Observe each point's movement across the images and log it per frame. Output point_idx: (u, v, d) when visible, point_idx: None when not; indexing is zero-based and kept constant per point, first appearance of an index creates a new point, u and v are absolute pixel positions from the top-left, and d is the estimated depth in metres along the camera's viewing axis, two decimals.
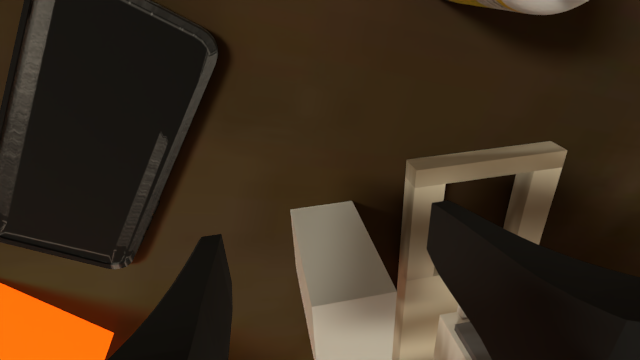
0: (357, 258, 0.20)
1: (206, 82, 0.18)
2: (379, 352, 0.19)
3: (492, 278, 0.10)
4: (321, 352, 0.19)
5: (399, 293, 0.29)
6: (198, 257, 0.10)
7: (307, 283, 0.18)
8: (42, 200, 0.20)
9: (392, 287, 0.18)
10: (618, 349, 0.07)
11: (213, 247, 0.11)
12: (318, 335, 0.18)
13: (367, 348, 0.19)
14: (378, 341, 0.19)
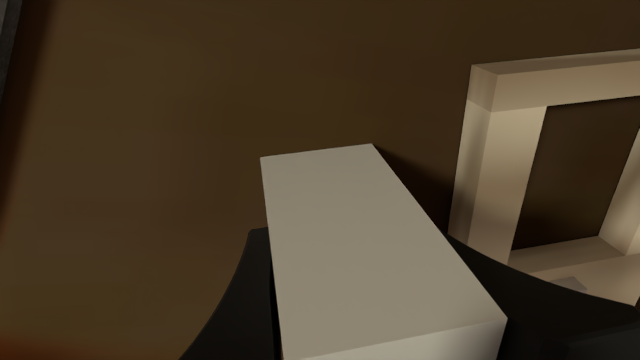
0: (394, 240, 0.09)
1: None
2: None
3: None
4: None
5: None
6: (254, 248, 0.11)
7: (278, 296, 0.07)
8: None
9: (492, 306, 0.07)
10: None
11: (266, 239, 0.11)
12: None
13: None
14: None
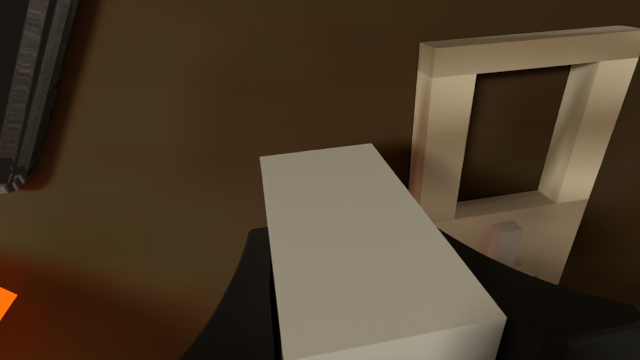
0: (393, 239, 0.09)
1: None
2: None
3: None
4: None
5: None
6: (254, 248, 0.11)
7: (278, 295, 0.07)
8: None
9: (491, 305, 0.07)
10: None
11: (266, 239, 0.11)
12: None
13: None
14: None
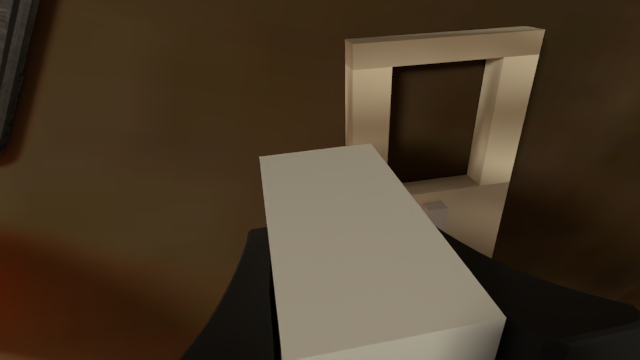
0: (393, 239, 0.09)
1: None
2: None
3: None
4: None
5: None
6: (254, 248, 0.11)
7: (277, 295, 0.07)
8: None
9: (490, 305, 0.07)
10: None
11: (266, 239, 0.11)
12: None
13: None
14: None
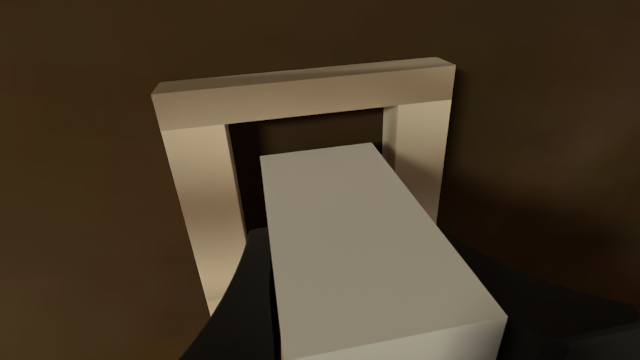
0: (393, 238, 0.09)
1: None
2: None
3: None
4: None
5: None
6: (254, 248, 0.11)
7: (278, 294, 0.07)
8: None
9: (492, 304, 0.07)
10: None
11: (266, 239, 0.11)
12: None
13: None
14: None
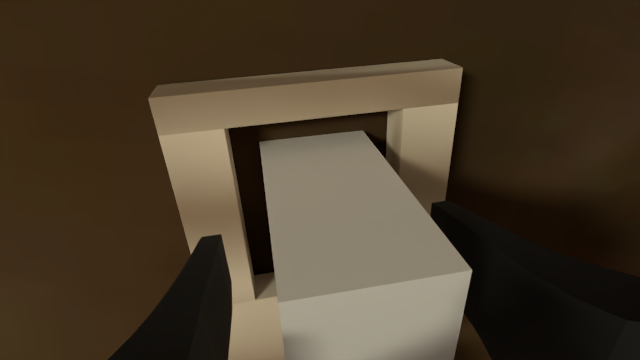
0: (378, 209, 0.10)
1: None
2: None
3: (492, 278, 0.10)
4: None
5: None
6: (198, 257, 0.10)
7: (274, 253, 0.09)
8: None
9: (459, 260, 0.08)
10: (619, 349, 0.07)
11: (213, 247, 0.11)
12: None
13: None
14: None
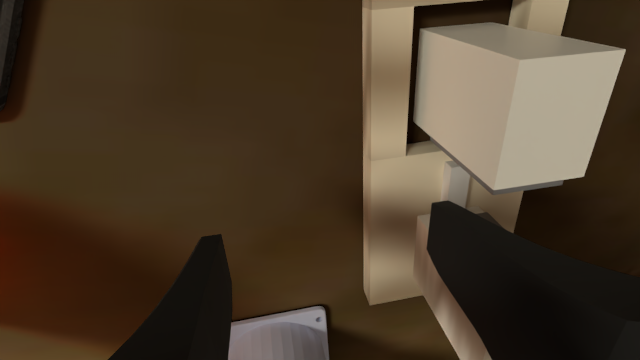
0: (543, 40, 0.15)
1: None
2: (574, 160, 0.15)
3: (492, 278, 0.10)
4: (509, 148, 0.14)
5: (365, 186, 0.23)
6: (198, 257, 0.10)
7: (494, 52, 0.14)
8: None
9: (615, 47, 0.13)
10: (618, 349, 0.07)
11: (213, 247, 0.11)
12: (513, 116, 0.13)
13: (562, 150, 0.15)
14: (579, 139, 0.14)
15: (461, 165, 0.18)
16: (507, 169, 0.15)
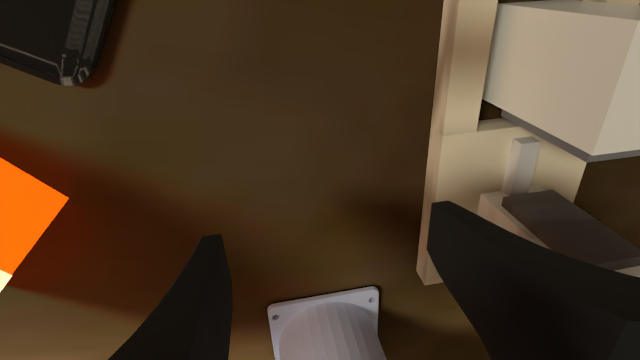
0: None
1: None
2: None
3: (492, 278, 0.10)
4: (613, 112, 0.14)
5: (431, 163, 0.23)
6: (198, 257, 0.10)
7: (603, 16, 0.14)
8: None
9: None
10: (619, 349, 0.07)
11: (213, 247, 0.11)
12: (623, 79, 0.14)
13: None
14: None
15: (544, 137, 0.18)
16: (608, 134, 0.15)
